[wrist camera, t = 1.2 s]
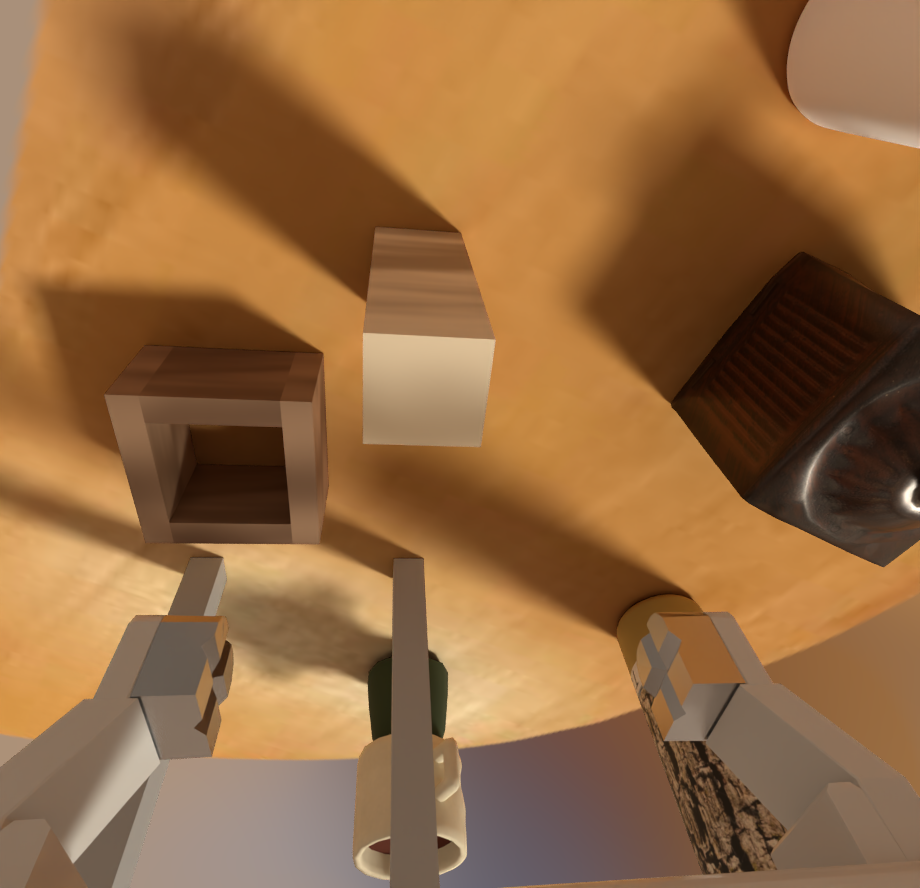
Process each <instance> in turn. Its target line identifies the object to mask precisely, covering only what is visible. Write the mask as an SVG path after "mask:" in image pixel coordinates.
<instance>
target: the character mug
mask: <svg viewBox="0 0 920 888" xmlns="http://www.w3.org/2000/svg"><path fill="white" fill-rule="evenodd" d="M428 660H429V681H430V701H431V721H432V742H433V762H434V783H435V803H436V824H437V844H438V865H439V875H440V874H442V873H445V872H447V871H450V870H452V869H454V868H456V867H457V866H459V865H460V864H461V863H462V862H463V861H464V859H465V858H466V856H467V842H466V841H467V840H466V826H465V814H466V810H465V804H464V799H463V794H462V791H461V782H460V773H461V768H462V764H461V759H460V757H459V754H458V746H457V743H456V741H455V740H454V738H453V737H452V738H448V739H445V740H444V739H443V735H444V732H445V724H446V710H447V696H448V672H447V670H446V669H445V667H444V665H443V663H441V662H438V661H435V660H432V659H430V658H428ZM368 699H369V711H370V721H371V730H372V739H373V742H371V743H370V744H368V745H367V746H365V747H364V749H363V751H362V753H361V755H360V756H359V760H358V765H357V782H356V800H355V817H354V818H355V819H354V836H353V860H354V864H355V867H356V868H357V869H358V870H360V871H361V872H363V873H364V874H365V875H368V876H372V877H375V878H379V879H383V880H390V824H391V721H392V657H391V658H388V659H385V660H382V661H380V662H378V663H377V664H376V665H375V666H374V667H373V668H372V669H371V670H370V671H369V676H368Z"/></svg>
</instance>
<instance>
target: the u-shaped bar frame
mask: <svg viewBox="0 0 920 888" xmlns="http://www.w3.org/2000/svg"><path fill="white" fill-rule="evenodd" d="M226 581H227V576H226V571H225V566H224V560H223V558H190V561H189V563H188V566H187V568H186V571H185V573H184V576H183V578H182V581H181V583H180V586H179V588H178V591H177V593H176V596H175V598H174V601H173V603H172V606H171V608H170V611H169V613H168V615H180V616H215V615H216V612H217V609H218V606H219V603H220V600H221V597H222V593H223V590H224V587H225V584H226ZM169 761H170V759H167V760H160V764H159V765H158V766H157V768H156V769H155V770H154V771H153V772H152V773H151V775H150V776H149V777H148V778H147V779H146V780H145V781H144V783H143V784H142V785H141V786H140V787H139V788H138V790H137V791H136V792H135V793H134V794H133V795H132V796H131V798H130V799H129V800H128V801H127V802H126V803H125V805H124V806H123V807H122V808H121V809H120V810H119V811H118V813H117V814H116V815H115V816H114V817H113V818H112V820H111V821H110V822H109V823H108V824H107V825H106V826H105V828H104V829H103V830H102V831H101V832H100V833H99V835H98V836H97V837H96V838H95V839H94V840H93V842H92V843H91V844H90V845H89V846H88V847H87V848H86V850H85V851H84V852H83V853H82V854H81V855H80V857H79V858H78V859H77V860H76V861H75V862H74V863H73V864H74V866H75V867H76V869H77V871H78V872H79V874H80V875H81V877H82V879H83V880H84V882H85V883H86V885H87V887H88V888H129V887H130V884H131V881H132V878H133V874H134V871H135V868H136V865H137V862H138V859H139V855H140V852H141V849H142V846H143V843H144V840H145V837H146V834H147V830H148V827H149V824H150V821H151V818H152V815H153V811H154V808H155V805H156V802H157V799H158V796H159V792H160V789H161V786H162V783H163V780H164V776H165V773H166V770H167V767H168V764H169ZM390 888H440V886H439V865H438V844H437V824H436V803H435V783H434V762H433V742H432V721H431V701H430V681H429V660H428V640H427V619H426V599H425V578H424V559H414V558H394V564H393V617H392V721H391V824H390Z"/></svg>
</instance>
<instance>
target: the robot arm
mask: <svg viewBox="0 0 920 888" xmlns="http://www.w3.org/2000/svg"><path fill="white" fill-rule="evenodd" d="M647 627H648V629H649V632H650V633H649V634H648V635H646V636H645V637H643V638H642V639H641V640H640V643H639V646H638V648H637V669H638V674H639V678H640V680H641V683H642V686H643V688H644V689H645V690H647V691H648V692H649V693H650V694H651V695H652V696H653V697H654V701H653V704H652V707H651V709H652V712H653V715H654V717H655V720H656V722H657V725H658V727H659V730H660V733H661V735H662V738H663V740H664V741H706V744H707V745H708V746H709V748H710V749H711V750H712V751H713V752H714V753H715V754H716V755H717V756H718V757H719V758H720V759H721V760H722V761H723V762H724V763H725V764H726V766H727V767H728V768H729V769H730V770H731V771H732V772H733V773H734V774H735V775H736V776H737V777H738V778H739V779H740V780H741V781H742V783H743V784H744V785H745V786H746V787H747V788H748V789H749V790H750V791H751V792H752V793H753V794H754V795H755V796H756V797H757V798H758V800H759V801H760V802H761V803H762V804H763V805H764V806H765V807H766V808H767V809H768V810H769V811H770V812H771V813H772V814H773V815H774V817H775V818H776V819H777V820H778V821H779V822H780V823H781V824H782V825H783V826H784V827H785V828H786V829H787V830H788V831H787V832H786V833H785V835H784V836H783V837H782V838H781V839H780V840H779V842H778V843H777V844H776V845H775V846H774V848H773V850H772V853H771V857H772V859H773V862H774V864H775V866H776V868H777V870H767V871H752V872H736V873H721V874H705V875H690V876H675V877H660V878H644V879H628V880H613V881H598V882H583V883H567V884H552V885H537V886H520V887H505V888H920V798H919V796H918V795H917V793H916V792H915V791H914V789H913V788H912V786H911V785H910V783H909V782H908V780H907V779H906V778H905V777H904V776H902V775H901V774H900V773H899V772H897V771H896V770H895V769H893V768H892V767H891V766H889V765H888V764H887V763H885V762H884V761H883V760H881V759H880V758H879V757H877V756H876V755H875V754H873V753H872V752H871V751H869V750H868V749H867V748H865V747H864V746H863V745H861V744H860V743H859V742H857V741H856V740H855V739H853V738H852V737H851V736H850V735H848V734H847V733H845V732H844V731H843V730H842V729H840V728H839V727H837V726H836V725H835V724H834V723H832V722H831V721H830V720H828V719H827V718H825V717H824V716H823V715H822V714H820V713H819V712H818V711H816V710H815V709H814V708H812V707H811V706H809V705H808V704H807V703H806V702H804V701H803V700H802V699H800V698H799V697H798V696H796V695H795V694H794V693H792V692H791V691H790V690H788V689H787V688H786V687H784V686H783V685H782V684H775V683H773V682H772V681H771V679H770V677H769V675H768V674H767V672H766V670H765V669H764V667H763V665H762V664H761V662H760V660H759V659H758V657H757V655H756V654H755V652H754V650H753V649H752V647H751V645H750V644H749V642H748V640H747V639H746V637H745V635H744V633H743V632H742V630H741V628H740V627H739V625H738V623H737V622H736V620H735V618H734V617H733V616H732V615H731V614H730V613H728V612H659V613H654V614H653V615H651V616H650V618H649V620H648V623H647ZM228 629H229V628H228V624H227V619H226V617H224V616H180V615H136V616H135V617H134V618H133V619H132V620H131V621H130V623H129V624H128V626H127V628H126V630H125V632H124V635H123V637H122V639H121V641H120V643H119V645H118V647H117V649H116V652H115V654H114V656H113V658H112V660H111V662H110V664H109V666H108V669H107V671H106V673H105V675H104V677H103V679H102V681H101V683H100V686H99V688H98V690H97V692H96V694H95V696H94V698H93V699H84V700H82V701H81V702H80V703H79V704H78V705H76V706H75V707H74V708H73V709H71V710H70V711H69V712H68V713H66V714H65V715H64V716H63V717H62V718H60V719H59V720H58V721H57V722H55V723H54V724H53V725H52V726H50V727H49V728H48V729H47V730H46V731H44V732H43V733H42V734H41V735H39V736H38V737H37V738H36V739H34V740H33V741H32V742H31V743H30V744H28V745H27V746H26V747H25V748H24V749H22V750H21V751H20V752H19V753H17V754H16V755H15V756H14V757H12V758H11V759H10V760H9V761H7V762H6V763H5V764H4V765H3V766H1V767H0V888H88V887H87V885H86V883H85V882H84V880H83V879H82V877H81V875H80V874H79V872H78V871H77V869H76V867H75V866H74V864H73V863H74V862H75V861H76V860H77V859H78V858H79V857H80V855H81V854H82V853H83V852H84V851H85V850H86V848H87V847H88V846H89V845H90V844H91V843H92V842H93V840H94V839H95V838H96V837H97V836H98V835H99V833H100V832H101V831H102V830H103V829H104V828H105V826H106V825H107V824H108V823H109V822H110V821H111V820H112V818H113V817H114V816H115V815H116V814H117V813H118V811H119V810H120V809H121V808H122V807H123V806H124V805H125V803H126V802H127V801H128V800H129V799H130V798H131V796H132V795H133V794H134V793H135V792H136V791H137V790H138V788H139V787H140V786H141V785H142V784H143V783H144V781H145V780H146V779H147V778H148V777H149V776H150V775H151V773H152V772H153V771H154V770H155V769H156V768H157V766H158V765H159V764H160V760H167V759H184V758H200V757H212V754H213V750H214V746H215V743H216V739H217V735H218V731H219V728H220V724H221V716H220V711H219V705H220V704H221V703H222V702H223V701H224V700H225V699H226V698H227V697H228V693H229V689H230V685H231V680H232V672H233V650H232V644H230V643H229V642H228V641H226V636H227V633H228Z"/></svg>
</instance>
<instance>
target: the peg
mask: <svg viewBox="0 0 920 888" xmlns="http://www.w3.org/2000/svg"><path fill="white" fill-rule="evenodd" d="M495 340H496V339H495V336H494V333H493V330H492V327H491V324H490V321H489V318H488V315H487V312H486V309H485V306H484V302H483V299H482V296H481V293H480V290H479V287H478V284H477V281H476V278H475V275H474V272H473V269H472V266H471V262H470V259H469V256H468V253H467V250H466V247H465V244H464V241H463V238H462V235H461V233H456V232H442V231H428V230H415V229H401V228H388V227H375V235H374V243H373V252H372V260H371V269H370V278H369V286H368V295H367V303H366V312H365V320H364V329H363V444H386V445H422V446H458V447H481V442H482V434H483V427H484V420H485V413H486V405H487V398H488V391H489V384H490V376H491V369H492V362H493V355H494V347H495Z"/></svg>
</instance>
